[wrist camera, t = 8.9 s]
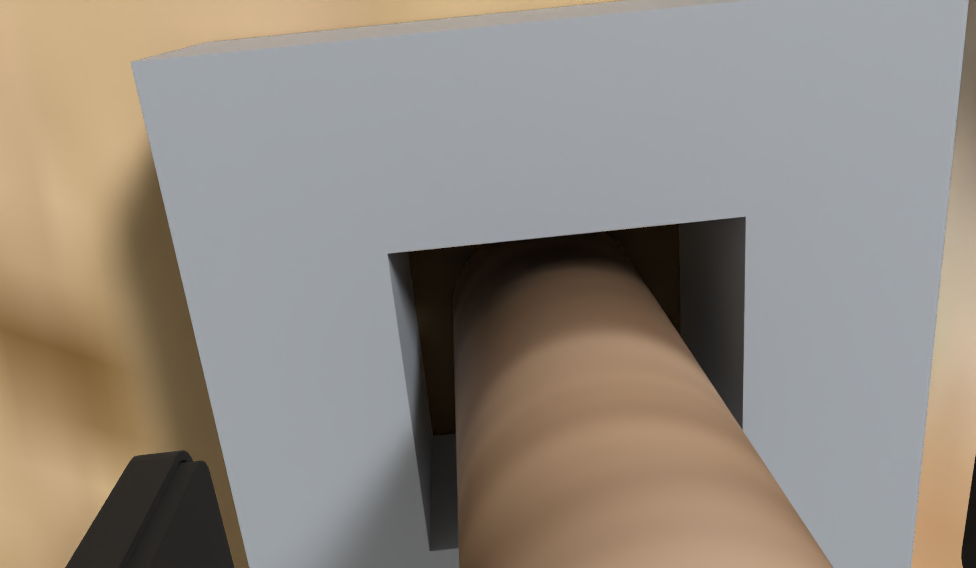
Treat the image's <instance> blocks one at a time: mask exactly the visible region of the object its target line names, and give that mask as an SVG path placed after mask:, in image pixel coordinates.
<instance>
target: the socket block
mask: <svg viewBox="0 0 976 568" xmlns="http://www.w3.org/2000/svg"><path fill="white" fill-rule="evenodd" d="M968 4H969V0H625V1H615V2H605V3H595V4H585V5H575V6H565V7H555V8H545V9H535V10H525V11H515V12H505V13H495V14H485V15H475V16H465V17H455V18H445V19H435V20H425V21H415V22H405V23H395V24H385V25H375V26H365V27H355V28H345V29H335V30H325V31H315V32H304V33H294V34H284V35H274V36H264V37H254V38H244V39H234V40H224V41H214V42H206V43H202V44H198V45H194V46H190V47H187V48H183V49H179V50H175V51H171V52H167V53H163V54H160V55H156V56H152V57H148V58H144V59H140V60H137V61H133V62H131V66H132V70H133V75H134V79H135V83H136V87H137V92H138V96H139V100H140V104H141V109H142V113H143V117H144V121H145V126H146V130H147V134H148V138H149V143H150V147H151V151H152V156H153V160H154V164H155V168H156V173H157V177H158V181H159V185H160V190H161V194H162V198H163V202H164V207H165V211H166V215H167V219H168V224H169V228H170V232H171V236H172V241H173V245H174V249H175V253H176V258H177V262H178V266H179V270H180V275H181V279H182V283H183V287H184V292H185V296H186V300H187V304H188V309H189V313H190V317H191V321H192V326H193V330H194V334H195V339H196V343H197V347H198V351H199V356H200V360H201V364H202V368H203V373H204V377H205V381H206V385H207V390H208V394H209V398H210V402H211V407H212V411H213V415H214V419H215V424H216V428H217V432H218V436H219V441H220V445H221V449H222V453H223V458H224V462H225V466H226V470H227V475H228V479H229V483H230V487H231V492H232V496H233V500H234V505H235V509H236V513H237V517H238V522H239V526H240V530H241V534H242V539H243V543H244V547H245V551H246V556H247V560H248V564H249V568H459V537H458V496H457V455H456V434H446V435H437V436H433V434H432V426H431V419H430V411H429V404H428V396H427V389H426V381H425V373H424V366H423V358H422V351H421V343H420V336H419V328H418V321H417V313H416V306H415V298H414V291H413V283H412V275H411V268H410V260H409V253H408V251H418V250H427V249H437V248H447V247H456V246H466V245H476V244H485V243H495V242H505V241H514V240H524V239H534V238H543V237H553V236H563V235H572V234H582V233H592V232H601V231H611V230H621V229H630V228H640V227H650V226H659V225H669V224H679V250H680V324H681V338H682V340H683V341H684V343H685V344H686V346H687V347H688V349H689V350H690V352H691V353H692V355H693V356H694V358H695V359H696V361H697V362H698V364H699V365H700V367H701V368H702V370H703V371H704V373H705V374H706V376H707V377H708V379H709V380H710V382H711V383H712V385H713V386H714V388H715V389H716V391H717V392H718V394H719V395H720V397H721V398H722V400H723V401H724V403H725V405H726V406H727V408H728V409H729V411H730V412H731V414H732V415H733V417H734V418H735V420H736V421H737V423H738V424H739V426H740V427H741V429H742V430H743V432H744V433H745V435H746V436H747V438H748V439H749V441H750V442H751V444H752V445H753V447H754V448H755V450H756V451H757V453H758V454H759V456H760V457H761V459H762V460H763V462H764V463H765V465H766V466H767V468H768V469H769V471H770V472H771V474H772V476H773V477H774V479H775V480H776V482H777V483H778V485H779V486H780V488H781V489H782V491H783V492H784V494H785V495H786V497H787V498H788V500H789V501H790V503H791V504H792V506H793V507H794V509H795V510H796V512H797V513H798V515H799V516H800V518H801V519H802V521H803V522H804V524H805V525H806V527H807V528H808V530H809V531H810V533H811V534H812V536H813V537H814V539H815V540H816V542H817V544H818V545H819V547H820V548H821V550H822V551H823V553H824V554H825V556H826V557H827V559H828V560H829V562H830V563H831V565H832V566H833V568H911V563H912V553H913V543H914V533H915V523H916V514H917V504H918V494H919V484H920V474H921V465H922V455H923V445H924V435H925V425H926V416H927V406H928V396H929V386H930V376H931V367H932V357H933V347H934V337H935V327H936V318H937V308H938V298H939V288H940V278H941V269H942V259H943V249H944V239H945V229H946V220H947V210H948V200H949V190H950V180H951V171H952V161H953V151H954V141H955V131H956V122H957V112H958V102H959V92H960V82H961V73H962V63H963V53H964V43H965V33H966V24H967V14H968Z"/></svg>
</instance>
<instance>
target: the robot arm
mask: <svg viewBox="0 0 976 568" xmlns="http://www.w3.org/2000/svg"><path fill="white" fill-rule="evenodd" d="M961 559H962V565H963V568H976V457H975V463H974V470H973V477H972V484H971V491H970V498H969V504H968V511H967V518H966V525H965V532H964V539H963V546H962V556H961ZM65 568H234V565H233V562H232V558H231V554H230V550H229V546H228V542H227V538H226V534H225V530H224V526H223V522H222V518H221V514H220V510H219V506H218V503H217V499H216V495H215V491H214V487H213V483H212V479H211V475H210V471H209V469H208V466H207V464H206V463H205V462H204V461H196V462H193V461H192V458H191V456H190V455H189V453H188V452H186V451H184V450H183V451H174V452H165V453H156V454H147V455H138V456H135V457H133V458H132V460H131V461H130V462H129V464H128V465H127V467H126V468H125V470H124V472H123V473H122V475H121V477H120V478H119V480H118V482H117V483H116V485H115V487H114V488H113V490H112V492H111V493H110V495H109V497H108V498H107V500H106V501H105V503H104V505H103V506H102V508H101V510H100V511H99V513H98V515H97V516H96V518H95V520H94V521H93V523H92V525H91V526H90V528H89V529H88V531H87V533H86V534H85V536H84V538H83V539H82V541H81V543H80V544H79V546H78V548H77V549H76V551H75V553H74V554H73V556H72V557H71V559H70V561H69V562H68V564H67V566H66V567H65Z"/></svg>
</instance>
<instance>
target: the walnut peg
mask: <svg viewBox="0 0 976 568" xmlns="http://www.w3.org/2000/svg"><path fill="white" fill-rule="evenodd" d="M453 333H454V374H455V415H456V455H457V496H458V537H459V568H833V566H832V565H831V563H830V562H829V560H828V559H827V557H826V556H825V554H824V553H823V551H822V550H821V548H820V547H819V545H818V544H817V542H816V540H815V539H814V537H813V536H812V534H811V533H810V531H809V530H808V528H807V527H806V525H805V524H804V522H803V521H802V519H801V518H800V516H799V515H798V513H797V512H796V510H795V509H794V507H793V506H792V504H791V503H790V501H789V500H788V498H787V497H786V495H785V494H784V492H783V491H782V489H781V488H780V486H779V485H778V483H777V482H776V480H775V479H774V477H773V476H772V474H771V472H770V471H769V469H768V468H767V466H766V465H765V463H764V462H763V460H762V459H761V457H760V456H759V454H758V453H757V451H756V450H755V448H754V447H753V445H752V444H751V442H750V441H749V439H748V438H747V436H746V435H745V433H744V432H743V430H742V429H741V427H740V426H739V424H738V423H737V421H736V420H735V418H734V417H733V415H732V414H731V412H730V411H729V409H728V408H727V406H726V405H725V403H724V401H723V400H722V398H721V397H720V395H719V394H718V392H717V391H716V389H715V388H714V386H713V385H712V383H711V382H710V380H709V379H708V377H707V376H706V374H705V373H704V371H703V370H702V368H701V367H700V365H699V364H698V362H697V361H696V359H695V358H694V356H693V355H692V353H691V352H690V350H689V349H688V347H687V346H686V344H685V343H684V341H683V340H682V338H681V337H680V335H679V333H678V332H677V330H676V329H675V327H674V326H673V324H672V323H671V321H670V320H669V318H668V317H667V315H666V314H665V312H664V311H663V309H662V308H661V306H660V305H659V303H658V302H657V300H656V299H655V297H654V296H653V294H652V293H651V291H650V290H649V288H648V287H647V285H646V284H645V282H644V281H643V279H642V278H641V276H640V275H639V273H638V272H637V270H636V269H635V267H634V266H633V264H632V262H631V261H630V259H629V258H628V256H627V255H626V254H625V252H624V251H623V250H622V249H621V247H620V246H619V245H618V244H617V243H616V242H615V241H614V240H613V239H612V238H610V237H609V236H608V235H606V234H605V233H603V232H602V231H601V232H592V233H582V234H572V235H563V236H553V237H543V238H534V239H524V240H514V241H505V242H495V243H485V244H481V245H480V246H479V247H478V248H477V249H476V250H475V251H474V253H473V254H472V255H471V257H470V258H469V259H468V261H467V262H466V264H465V266H464V268H463V269H462V271H461V274H460V276H459V279H458V281H457V284H456V288H455V292H454V299H453Z"/></svg>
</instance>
